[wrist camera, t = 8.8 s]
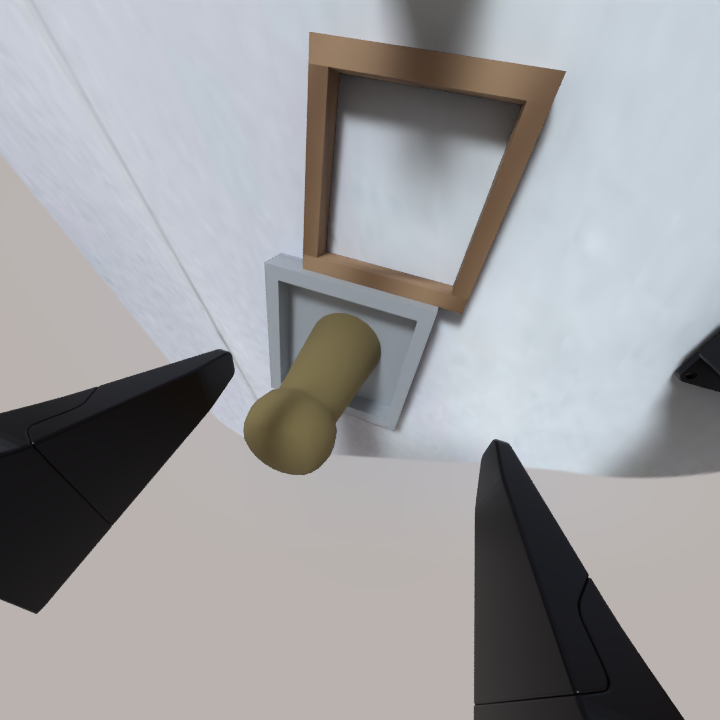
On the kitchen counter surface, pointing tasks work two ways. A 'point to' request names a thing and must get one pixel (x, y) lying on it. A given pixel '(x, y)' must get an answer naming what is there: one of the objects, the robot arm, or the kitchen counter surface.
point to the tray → (376, 308)
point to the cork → (313, 396)
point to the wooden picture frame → (428, 72)
